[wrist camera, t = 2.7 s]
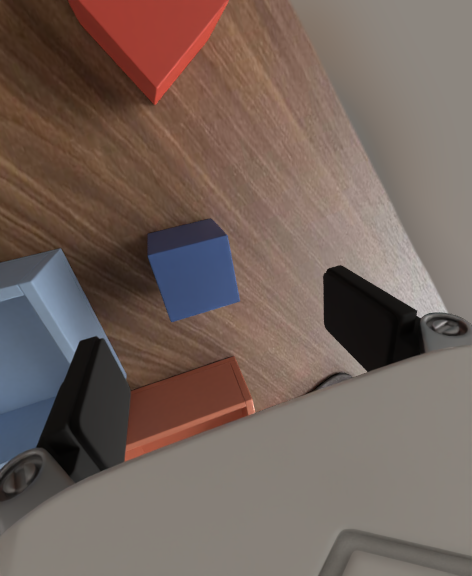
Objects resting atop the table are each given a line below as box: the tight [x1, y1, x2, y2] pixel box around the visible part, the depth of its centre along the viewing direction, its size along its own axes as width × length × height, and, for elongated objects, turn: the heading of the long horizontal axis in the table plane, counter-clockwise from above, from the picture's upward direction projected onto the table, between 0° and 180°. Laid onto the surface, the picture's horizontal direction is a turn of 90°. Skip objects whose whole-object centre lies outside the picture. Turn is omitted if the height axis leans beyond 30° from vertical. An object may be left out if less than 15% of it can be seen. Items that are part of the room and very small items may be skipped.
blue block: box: [148, 218, 240, 322], centre depth 17 cm, size 4×4×4 cm
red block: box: [68, 0, 229, 105], centre depth 12 cm, size 4×4×4 cm
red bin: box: [125, 356, 255, 461], centre depth 24 cm, size 11×11×5 cm
